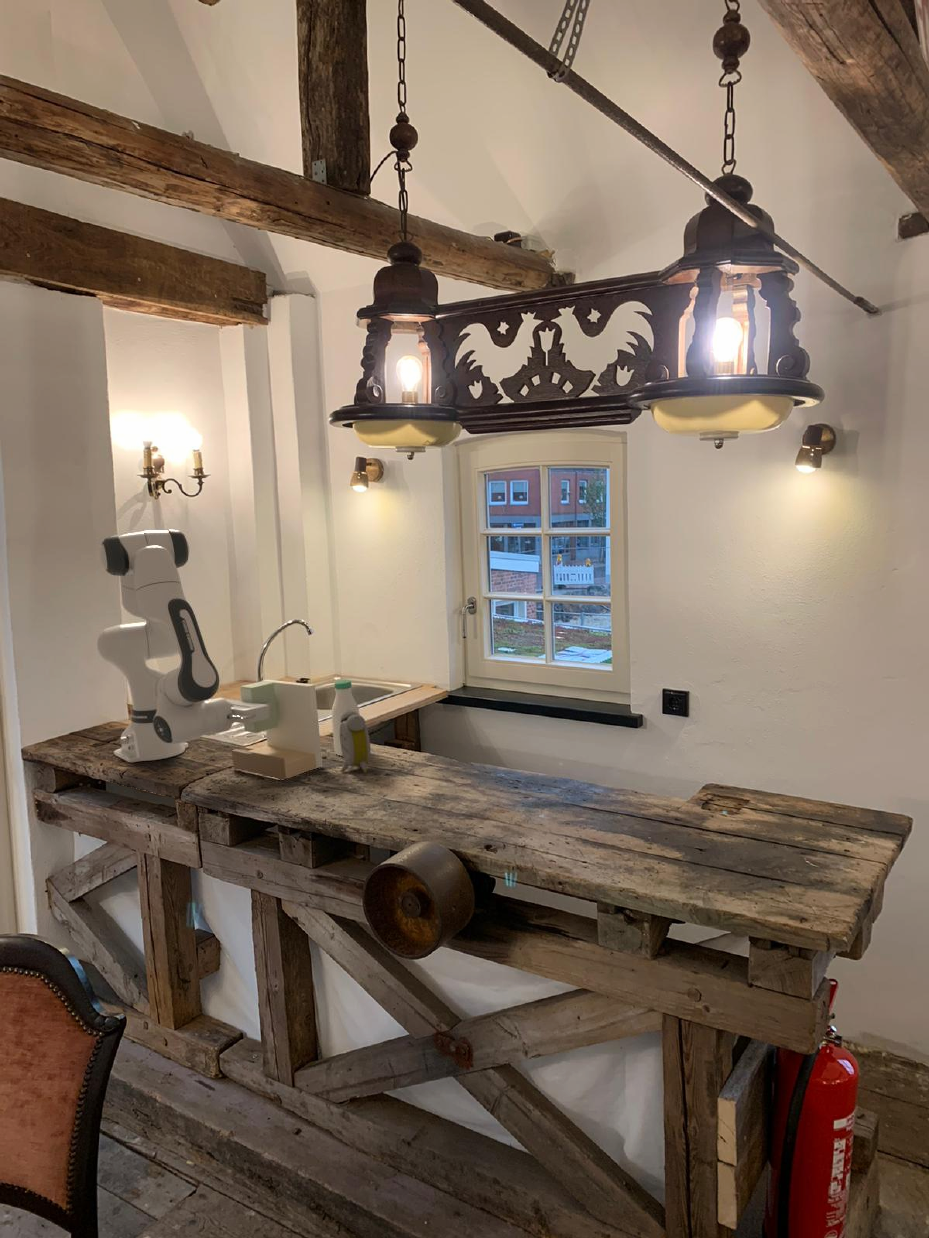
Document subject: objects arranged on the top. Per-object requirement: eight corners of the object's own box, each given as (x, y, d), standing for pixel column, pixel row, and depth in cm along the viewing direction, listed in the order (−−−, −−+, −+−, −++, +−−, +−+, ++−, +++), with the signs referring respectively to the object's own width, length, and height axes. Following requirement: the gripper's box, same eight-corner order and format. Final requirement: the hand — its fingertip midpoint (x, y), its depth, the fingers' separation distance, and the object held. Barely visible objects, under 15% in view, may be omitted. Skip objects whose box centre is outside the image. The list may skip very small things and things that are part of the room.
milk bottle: (360, 755, 236) (354, 683, 233) (332, 757, 236) (326, 685, 233) (364, 748, 243) (358, 678, 241) (337, 749, 243) (331, 680, 241)
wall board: (233, 770, 230) (225, 689, 227) (274, 757, 240) (267, 679, 237) (281, 781, 217) (272, 695, 214) (322, 767, 227) (314, 684, 224)
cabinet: (241, 731, 228) (237, 687, 227) (266, 724, 235) (262, 681, 233) (252, 733, 225) (248, 688, 224) (278, 726, 231) (273, 682, 230)
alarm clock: (373, 773, 218) (368, 715, 216) (346, 778, 216) (341, 719, 214) (361, 762, 229) (356, 707, 227) (335, 766, 226) (331, 710, 225)
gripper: (240, 707, 213) (285, 695, 223) (193, 699, 226) (238, 689, 236) (243, 732, 213) (287, 719, 224) (196, 723, 227) (240, 712, 237)
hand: (261, 704), depth 230 cm, fingers closed on cabinet, 5 cm apart
